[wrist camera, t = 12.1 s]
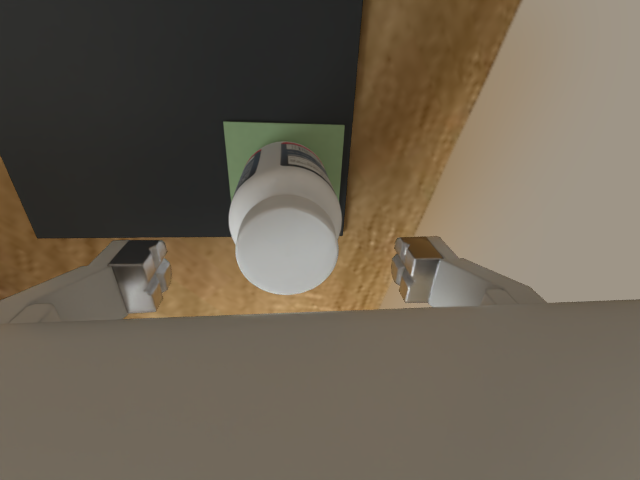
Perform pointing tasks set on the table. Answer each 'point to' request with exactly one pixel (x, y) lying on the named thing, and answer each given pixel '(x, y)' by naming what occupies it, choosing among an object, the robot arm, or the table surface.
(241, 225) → the pill bottle
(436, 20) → the table surface
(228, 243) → the table surface
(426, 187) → the table surface
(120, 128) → the mat
